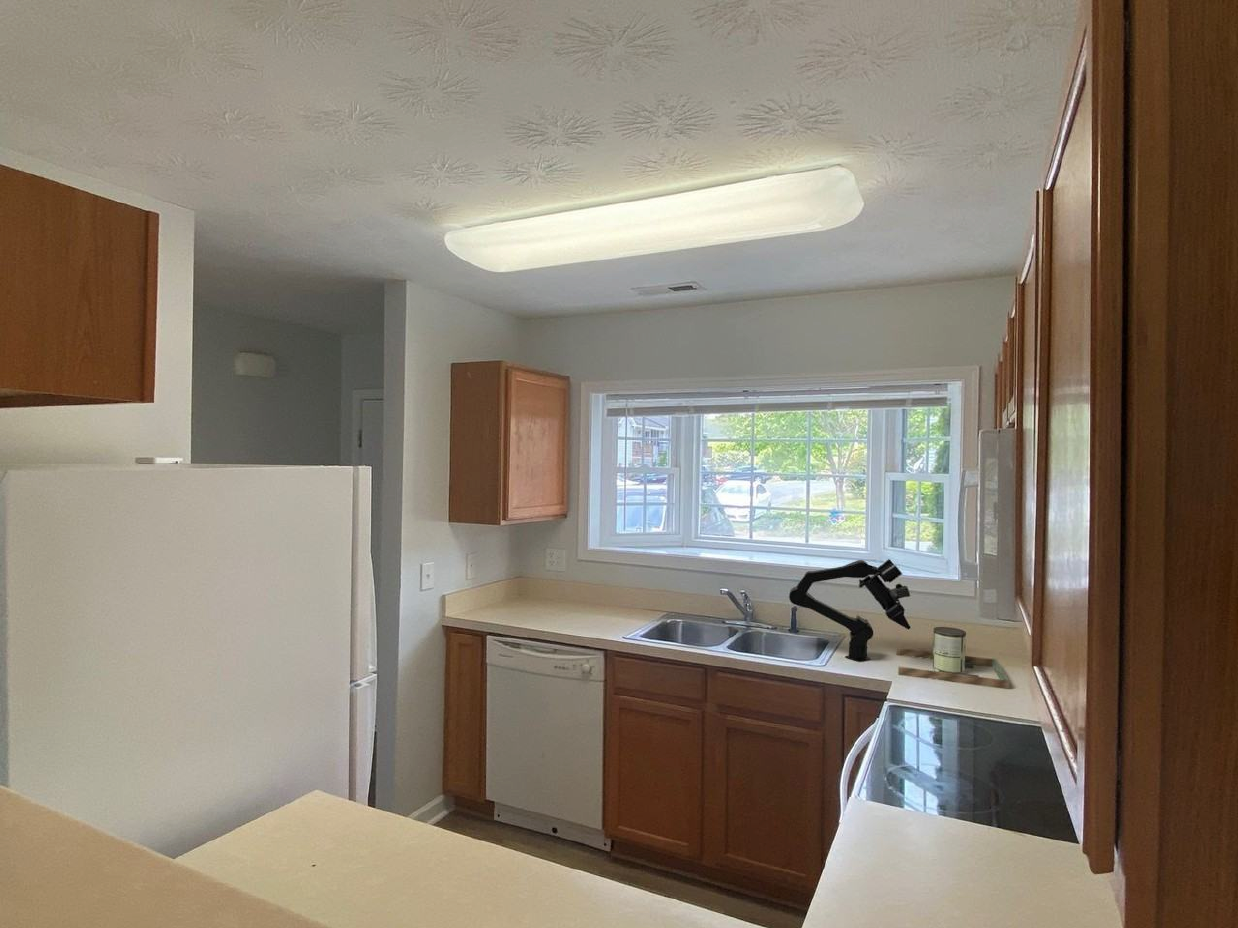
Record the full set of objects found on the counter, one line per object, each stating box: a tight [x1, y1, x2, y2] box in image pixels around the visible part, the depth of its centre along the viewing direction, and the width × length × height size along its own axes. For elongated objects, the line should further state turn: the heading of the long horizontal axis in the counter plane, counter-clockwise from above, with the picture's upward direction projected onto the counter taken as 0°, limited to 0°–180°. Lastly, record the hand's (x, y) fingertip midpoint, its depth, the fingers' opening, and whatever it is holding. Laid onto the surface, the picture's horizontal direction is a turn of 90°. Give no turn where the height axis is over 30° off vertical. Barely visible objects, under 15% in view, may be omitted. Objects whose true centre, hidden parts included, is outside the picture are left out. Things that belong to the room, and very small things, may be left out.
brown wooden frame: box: [896, 647, 1010, 690], centre depth 239 cm, size 33×27×3 cm
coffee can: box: [932, 626, 967, 674], centre depth 239 cm, size 10×10×14 cm
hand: (907, 625), depth 245 cm, fingers open, 9 cm apart
